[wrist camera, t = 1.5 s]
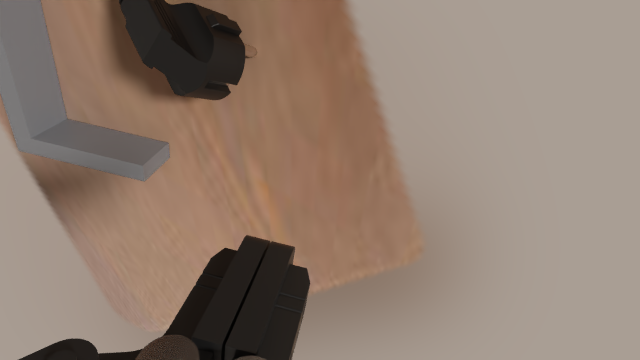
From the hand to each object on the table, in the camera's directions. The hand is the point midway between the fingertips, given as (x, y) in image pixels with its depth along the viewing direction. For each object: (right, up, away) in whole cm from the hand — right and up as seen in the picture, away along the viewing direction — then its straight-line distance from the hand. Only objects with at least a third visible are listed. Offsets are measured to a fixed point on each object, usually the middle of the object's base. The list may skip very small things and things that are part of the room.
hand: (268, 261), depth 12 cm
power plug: (-8, +15, +16) cm, 23 cm away
